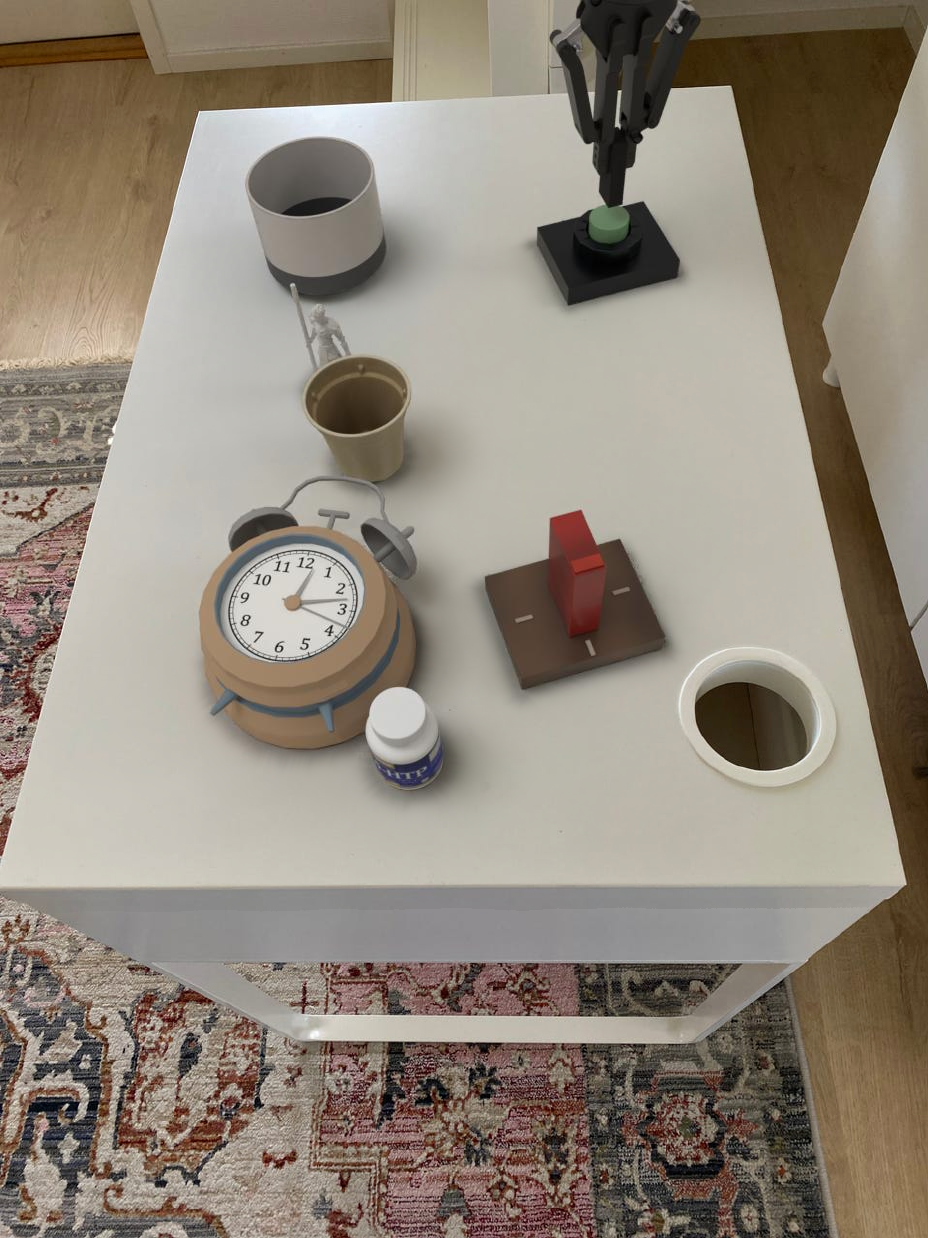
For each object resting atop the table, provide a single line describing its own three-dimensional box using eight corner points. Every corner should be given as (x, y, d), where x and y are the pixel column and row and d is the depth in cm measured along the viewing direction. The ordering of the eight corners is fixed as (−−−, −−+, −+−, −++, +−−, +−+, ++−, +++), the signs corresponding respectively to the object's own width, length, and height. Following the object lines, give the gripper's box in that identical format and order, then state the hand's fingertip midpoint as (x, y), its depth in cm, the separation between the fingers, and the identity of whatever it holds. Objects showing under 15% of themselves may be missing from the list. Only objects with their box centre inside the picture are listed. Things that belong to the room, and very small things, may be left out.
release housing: (641, 218, 102) (645, 185, 99) (677, 277, 97) (682, 244, 94) (536, 244, 101) (537, 212, 98) (567, 305, 96) (569, 273, 93)
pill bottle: (370, 787, 72) (351, 743, 64) (383, 724, 74) (366, 674, 67) (439, 795, 71) (428, 751, 63) (449, 731, 74) (440, 681, 66)
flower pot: (410, 504, 85) (399, 440, 77) (310, 494, 86) (289, 431, 79) (429, 425, 90) (420, 357, 82) (333, 417, 91) (315, 350, 83)
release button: (619, 214, 97) (620, 199, 96) (633, 238, 95) (635, 224, 94) (583, 223, 97) (583, 209, 96) (596, 248, 95) (597, 233, 94)
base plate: (618, 551, 81) (620, 536, 79) (662, 648, 76) (666, 635, 74) (485, 588, 80) (484, 575, 78) (521, 689, 75) (521, 677, 73)
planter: (247, 264, 103) (219, 177, 93) (339, 208, 106) (322, 120, 97) (317, 322, 97) (295, 236, 88) (412, 262, 101) (400, 174, 92)
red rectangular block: (547, 582, 78) (549, 515, 70) (576, 574, 78) (581, 506, 70) (569, 637, 75) (573, 575, 67) (599, 629, 75) (607, 565, 67)
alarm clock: (142, 684, 67) (237, 436, 78) (184, 735, 75) (264, 503, 86) (375, 717, 64) (438, 456, 76) (392, 766, 72) (447, 523, 84)
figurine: (301, 397, 92) (272, 300, 82) (328, 361, 94) (303, 262, 84) (347, 413, 91) (324, 316, 80) (373, 376, 93) (353, 277, 83)
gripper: (570, -31, 70) (560, 237, 91) (732, -67, 71) (687, 205, 92) (538, -78, 74) (535, 190, 94) (693, -111, 75) (657, 160, 95)
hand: (610, 197), depth 93 cm, fingers closed
